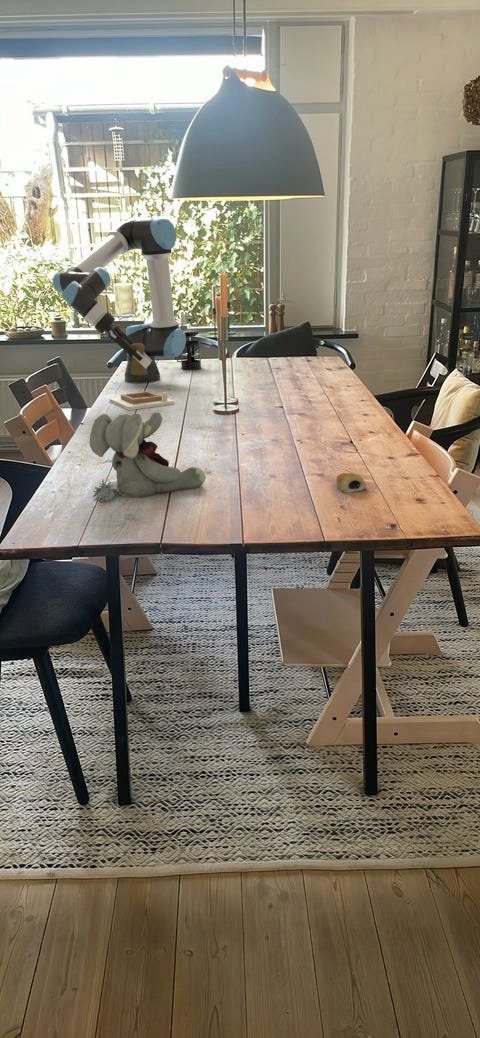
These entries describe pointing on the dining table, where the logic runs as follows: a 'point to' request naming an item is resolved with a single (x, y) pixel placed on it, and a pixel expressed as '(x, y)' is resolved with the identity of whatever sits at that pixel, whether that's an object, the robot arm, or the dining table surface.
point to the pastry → (350, 482)
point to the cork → (136, 366)
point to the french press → (191, 351)
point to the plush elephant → (137, 458)
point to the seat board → (141, 400)
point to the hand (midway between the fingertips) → (149, 364)
